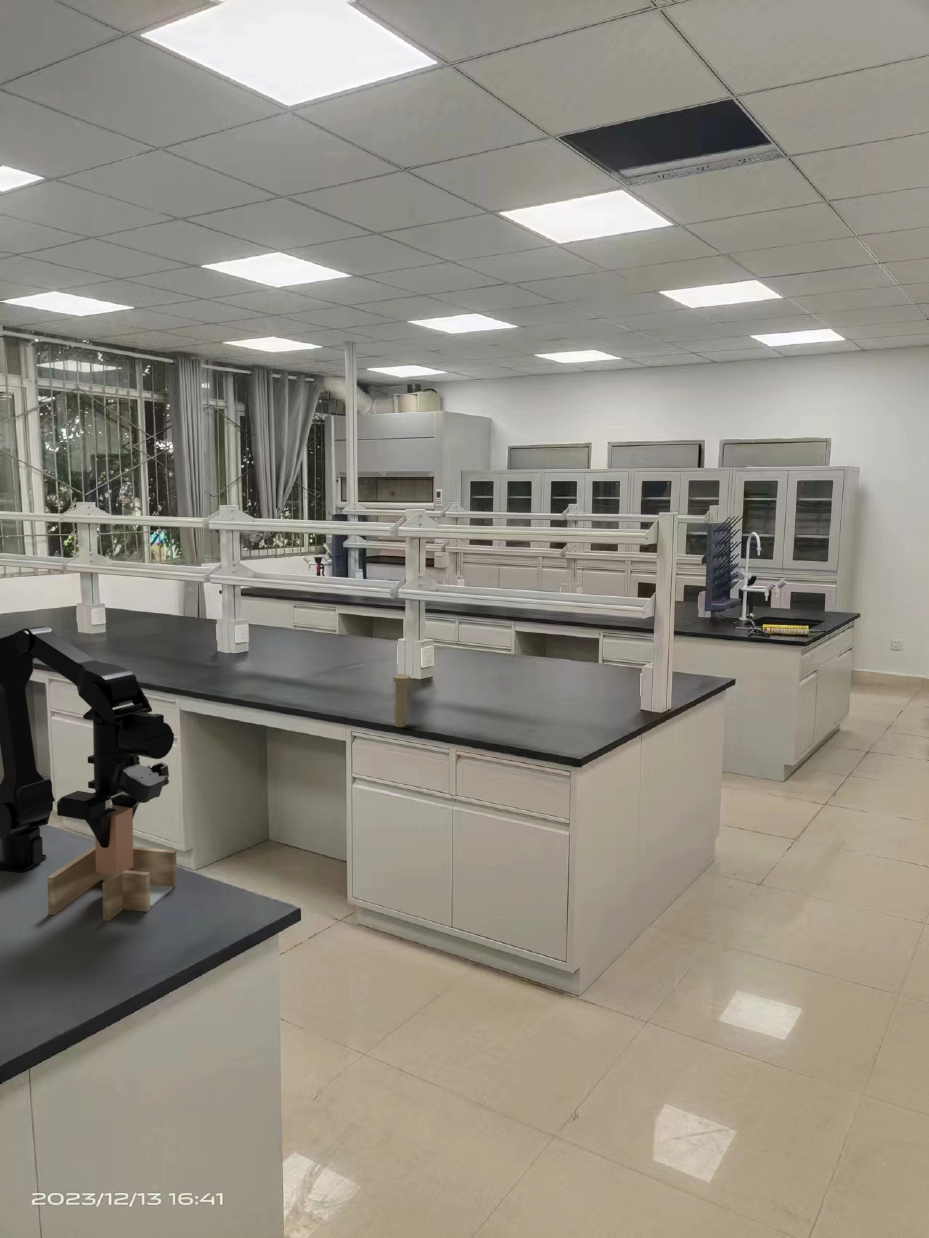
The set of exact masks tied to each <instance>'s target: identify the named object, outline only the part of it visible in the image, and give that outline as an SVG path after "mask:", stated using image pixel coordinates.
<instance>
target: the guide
mask: <svg viewBox="0 0 929 1238" xmlns="http://www.w3.org/2000/svg"><path fill="white" fill-rule="evenodd" d="M101 881H103V882H102V921H107V922H110V921H111V920H112V919H114V918H115V917H116V916H117V915H119V913H120V912H122V911H124V910H127V911H136V912H137V911H138V912H144V913H145V912H148V911H150V910H151V908H153V907H154V906H155V905H156V904H157V903H158V902H160V901H161V900H162V899H163V898H164V897H165V896H166V895H167V894H168V893H170V891H172V889H173V888H175V887H176V886H177V850H173V849H163V848H162V849H161V848H151V847H145V846H144V847H142V846H141V847H140V846H133V867H132V868H130V869H129V870H119V871H117V872H116V873H115V874H113V875H107V874H102V873H97V872H96V848H95V844H94V845H93V846H91V847H90V848H89V849H87V850H85V851H84V852H83V853H82V854H79V856H77V857H75V858H74V859H72V860H70V862H68V863H67V864H65V865H64V866H62V867H61V868H59V869H58V870H56V871H55V872H53V873H52V874H50V875H49V876H48V877H47V902H48V903H47V908H48V912H47V913H48V915H49V916H51V915H52V916H55V915H57V914H58V913H59V912H60V911H62V910H63V909H65V908H66V907H67V906H68V905H70V904H71V903H72V902H74V901H75V900H77V898H79V897H81V896H82V895H83V894H84V893H85V892H87V891H88V890H90V889H91V888H93V886H95V885H96V884H98V883H99V882H101Z"/></svg>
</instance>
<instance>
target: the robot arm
mask: <svg viewBox="0 0 929 1238" xmlns="http://www.w3.org/2000/svg"><path fill="white" fill-rule="evenodd" d="M35 659H36V660H38V661H39V662H41V663H43V664H44V665H46V666H47V667H49V668H50V669H52V670H53V671H54V672H56V673H58V674H59V675H60V676H62V677H63V678H65V679H66V680H68V681H69V682H71V683H72V684H73V685H74V686H76V689H77V694H78V696H79V697H80V698H81V699H82V700H83V701H84V702H85V703H86V704H87V705H88V706H89V707H91V708H90V709H89V710H88V711H86V712H85V713H84V714H83V715H82V718H83V719H84V720H87V721H92V727H93V728H92V734H93V735H92V736H93V737H92V739H93V740H92V741H93V754H92V755H89V756H87V764H92V765H93V779H92V780H90V781H87V788H88V789H92V790H94V791H95V792H89V791H82V790H76V791H74V792H70V793H68V794H65V795H64V796H62V797H60V798H59V799H58V801H57V802H56V813H57V814H56V815H57V816H59V817H64V818H70V819H76V820H83V821H85V822H86V823H87V825H88V826H89V828H90V829H91V832H92V833H93V835H94V838H95V837H96V838H97V840H98V842H99V844H100V845H101V847H103V848H108V846H109V839H110V821H111V817H112V815H113V814H114V813H115V812H116V811H117V809H113V808H111V805H117V806H123V807H129V808H133V818H134V817H135V815H136V811H137V809H138V807H139V806H140V804H141V803H143V804H145V803H148V802H150V800H153V799H155V798H159V797H160V796H161V793H162V789H163V787H164V786H168V785H169V784H170V780H169V776H170V772H169V765H168V764H167V763H164V761H160V762H157V763H156V764H155V763H154V764H153V765H152V766H150V765H149V764H148V765H146V766H144V765H142V764H141V762H140V757H145V758H148V759H155V760H160V759H163V758H165V757H166V756H168V754H169V753H170V751H171V750H172V748H173V744H174V740H175V734H174V732H173V728H171V726H170V725H169V723H167V722H165V718H164V717H165V716H164V714H160V713H152V711H153V708H152V706H151V704H150V701H149V699H148V698H147V697H146V695H145V693H144V691H143V690H142V689H143V688H141V686H140V684H139V682H138V680H137V676H136V674H135V673H134V672H132V671H131V670H129V669H127V668H125V667H123V666H119V665H117V664H112V663H107V662H102V661H98V660H96V659H94V658H93V657H91V656H90V655H88V654H87V653H85V652H83V650H81V649H79V648H77V647H76V646H74V645H72V643H70V642H68V641H66V640H65V639H64V638H62V637H61V636H59V635H57V634H56V633H54V631H53V629H51V628H50V627H49V626H48V627H47V626H45V625H43V626H41V625H40V626H35V627H34V626H33V627H26V628H22V629H20V630H17V631H16V632H15V633H12V634H9V635H7V636H4V637H1V638H0V754H1V760H2V768H3V778H2V781H1V782H0V870H1V871H2V870H3V871H12V872H22V873H23V872H27V871H28V870H30V869H31V868H33V867H34V866H36V865H37V864H39V863H40V862H42V861H44V860H45V859H46V858H47V855H46V854H44V849H43V847H44V846H43V836H41V827H43V826H46V825H49V821H50V818H51V813H52V812H53V809H54V802H55V801H56V799H55V796H54V793H53V782H52V780H51V779H50V778H46V779H45V778H44V776H42V775H41V774H40V773H39V772H38V770H37V763H36V756H35V750H34V742H33V735H32V728H31V720H30V712H29V704H28V697H27V687H28V684H29V682H30V679H31V676H32V675H33V672H34V660H35ZM130 704H131V705H130Z"/></svg>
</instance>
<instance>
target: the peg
mask: <svg viewBox="0 0 929 1238" xmlns="http://www.w3.org/2000/svg"><path fill="white" fill-rule="evenodd" d="M111 808H113V809H117V811H116V812H115V813H114V814H113V815H112V817H111V821H110V839H109V846H108V848H103V847H101V845H100V844H99V842H98V840H97V838H96V837H95V836H94V838H95V839H94V840H95V841H94V842H95V844H94V845H95V848H96V872H97V873H102V874H107V875H113V874H115V873H116V872H117V871H119V870H129V869H130V868H132V867H133V847H134V823H133V822H134V817H133V808H129V807H123V806H117V805H112V804H111Z"/></svg>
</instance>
